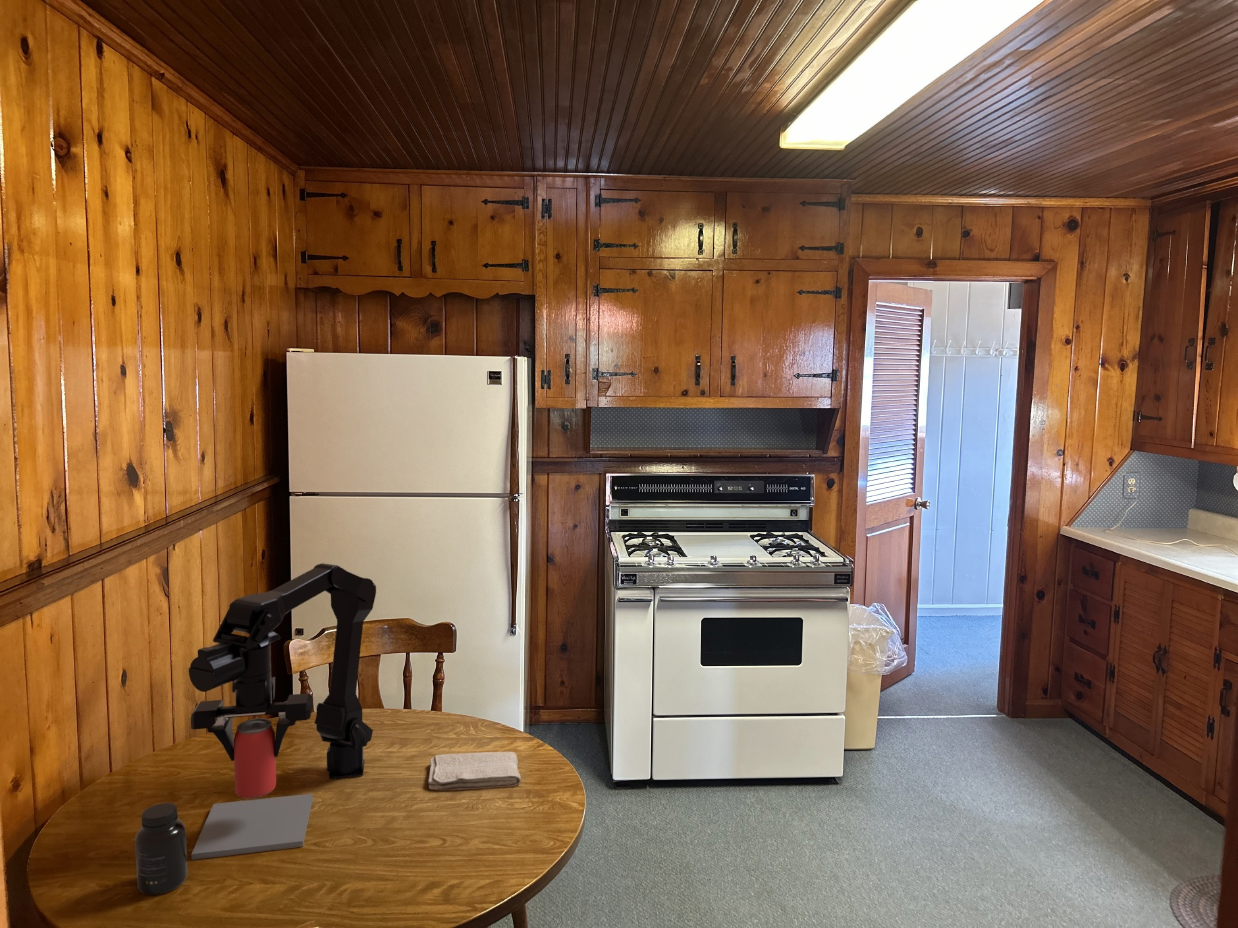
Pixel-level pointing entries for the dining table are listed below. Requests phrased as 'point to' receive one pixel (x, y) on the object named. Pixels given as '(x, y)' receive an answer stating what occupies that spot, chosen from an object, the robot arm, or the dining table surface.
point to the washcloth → (474, 771)
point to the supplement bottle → (161, 850)
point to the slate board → (254, 826)
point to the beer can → (254, 758)
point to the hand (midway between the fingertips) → (255, 757)
